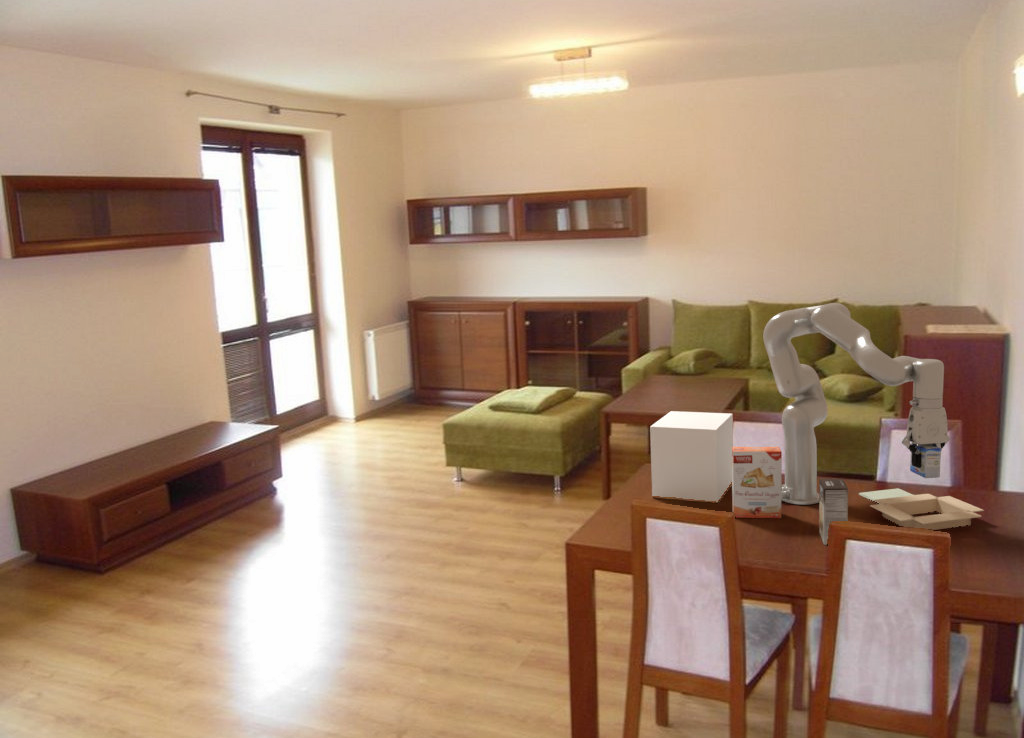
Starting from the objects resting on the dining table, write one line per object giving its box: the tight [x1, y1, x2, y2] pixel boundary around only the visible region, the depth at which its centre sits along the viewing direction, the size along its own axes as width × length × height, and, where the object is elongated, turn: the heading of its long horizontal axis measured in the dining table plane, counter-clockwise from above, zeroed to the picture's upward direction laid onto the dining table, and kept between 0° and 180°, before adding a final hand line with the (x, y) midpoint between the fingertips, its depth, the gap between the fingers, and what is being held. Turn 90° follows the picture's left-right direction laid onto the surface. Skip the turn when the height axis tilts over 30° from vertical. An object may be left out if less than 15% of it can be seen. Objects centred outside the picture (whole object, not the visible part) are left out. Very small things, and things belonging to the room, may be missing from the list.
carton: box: [869, 493, 985, 531], centre depth 240 cm, size 26×22×4 cm
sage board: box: [858, 488, 914, 504], centre depth 262 cm, size 14×14×1 cm
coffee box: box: [818, 478, 849, 546], centre depth 229 cm, size 9×6×16 cm
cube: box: [649, 410, 734, 502], centre depth 280 cm, size 25×21×24 cm
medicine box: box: [909, 444, 942, 479], centre depth 238 cm, size 8×4×9 cm, turn 5°
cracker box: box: [731, 446, 783, 519], centre depth 251 cm, size 14×6×21 cm, turn 80°
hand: (925, 465), depth 239 cm, fingers closed on medicine box, 4 cm apart
